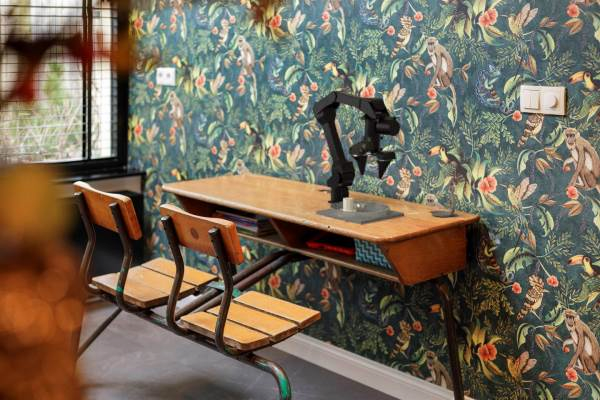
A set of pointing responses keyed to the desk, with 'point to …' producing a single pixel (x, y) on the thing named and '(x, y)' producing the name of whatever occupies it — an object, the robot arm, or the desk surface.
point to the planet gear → (348, 205)
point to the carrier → (361, 220)
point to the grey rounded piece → (451, 207)
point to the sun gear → (360, 207)
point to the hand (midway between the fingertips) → (371, 176)
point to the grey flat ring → (350, 214)
